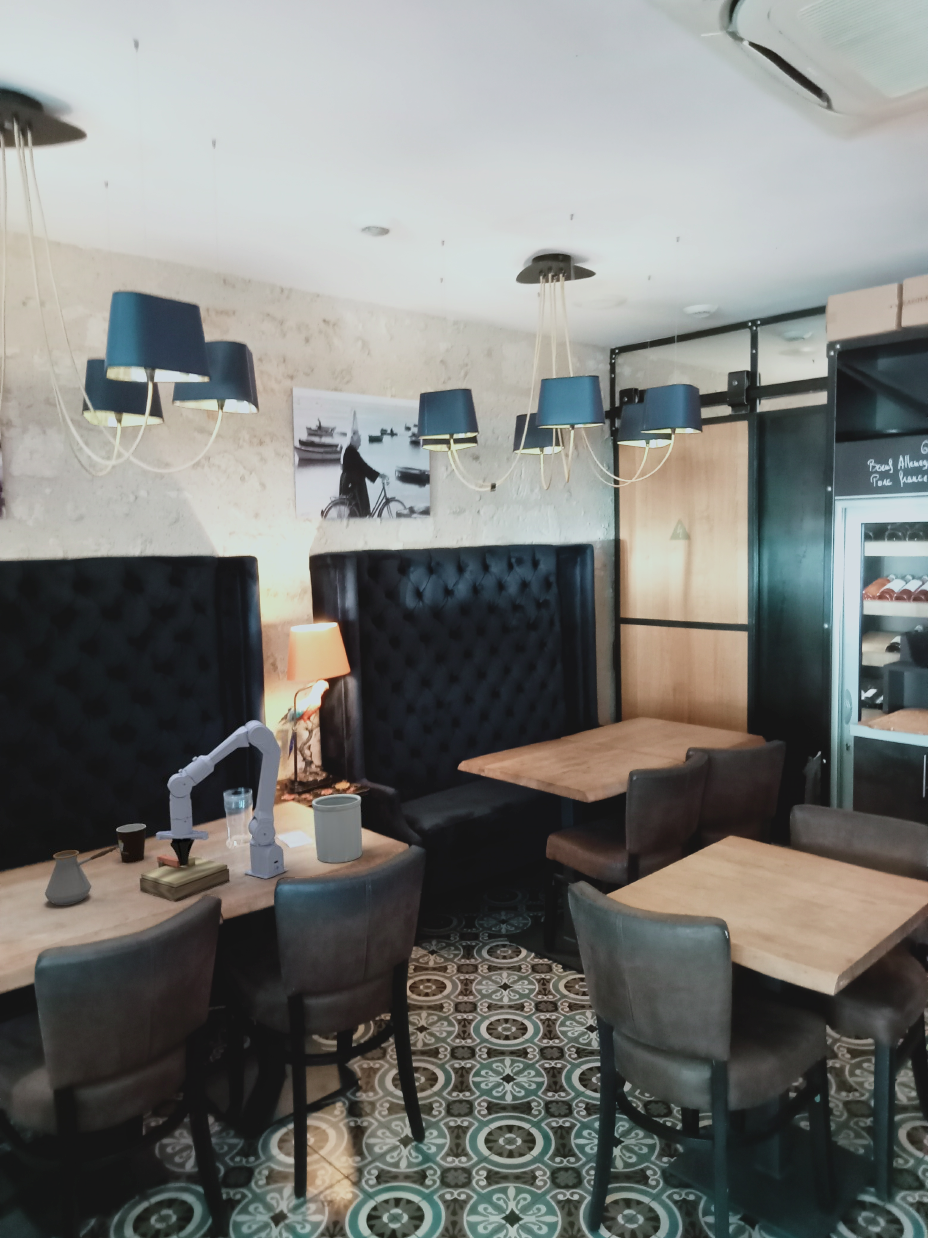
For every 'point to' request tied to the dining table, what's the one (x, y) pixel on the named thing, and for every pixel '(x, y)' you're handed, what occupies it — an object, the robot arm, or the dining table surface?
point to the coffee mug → (131, 842)
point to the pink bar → (168, 860)
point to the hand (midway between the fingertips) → (183, 864)
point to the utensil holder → (338, 827)
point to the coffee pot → (70, 878)
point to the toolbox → (184, 885)
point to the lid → (184, 872)
